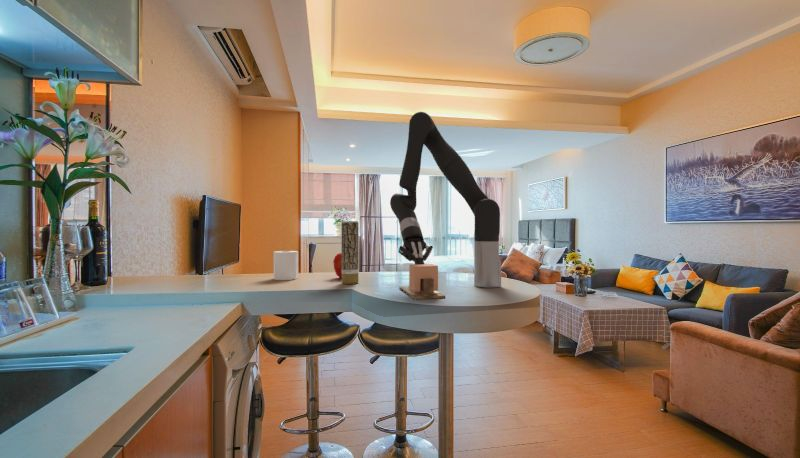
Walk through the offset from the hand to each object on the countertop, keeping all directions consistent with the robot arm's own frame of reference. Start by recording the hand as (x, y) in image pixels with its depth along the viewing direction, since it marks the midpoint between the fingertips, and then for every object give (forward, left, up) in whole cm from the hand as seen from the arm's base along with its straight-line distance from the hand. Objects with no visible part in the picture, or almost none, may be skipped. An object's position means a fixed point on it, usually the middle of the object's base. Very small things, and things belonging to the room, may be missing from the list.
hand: (420, 268), depth 120 cm
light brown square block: (0, +4, -6) cm, 7 cm away
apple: (+22, -44, -9) cm, 50 cm away
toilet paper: (+47, -48, -9) cm, 68 cm away
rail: (0, 0, -8) cm, 8 cm away
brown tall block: (+21, -28, -9) cm, 36 cm away
